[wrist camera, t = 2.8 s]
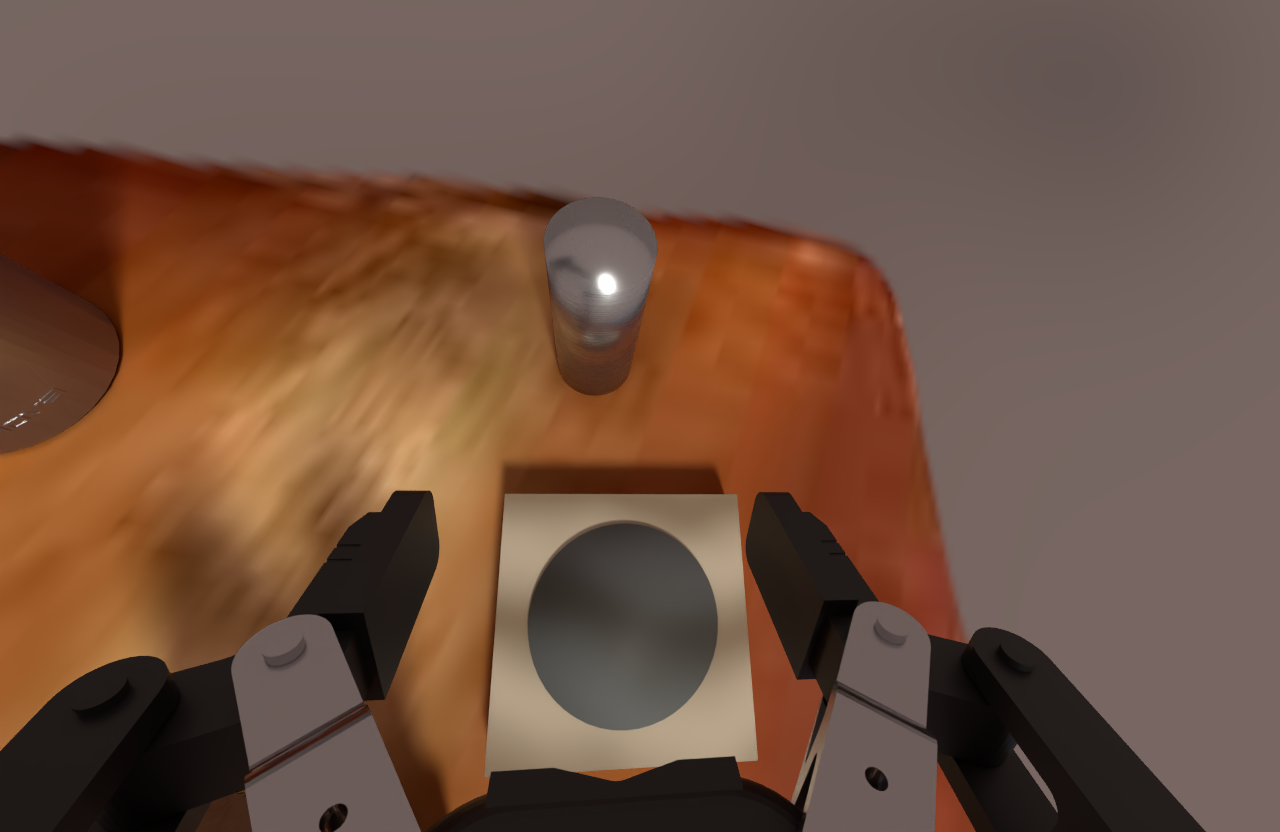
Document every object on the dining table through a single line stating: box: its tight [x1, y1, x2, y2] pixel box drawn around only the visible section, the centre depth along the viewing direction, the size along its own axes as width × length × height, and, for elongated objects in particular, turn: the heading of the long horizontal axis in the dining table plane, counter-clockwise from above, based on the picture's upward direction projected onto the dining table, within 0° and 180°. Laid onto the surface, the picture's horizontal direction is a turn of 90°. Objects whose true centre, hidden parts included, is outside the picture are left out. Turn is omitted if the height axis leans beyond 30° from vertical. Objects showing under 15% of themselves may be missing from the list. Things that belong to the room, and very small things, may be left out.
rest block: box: [484, 494, 758, 778], centre depth 24 cm, size 12×12×2 cm
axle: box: [544, 197, 657, 396], centre depth 24 cm, size 4×4×11 cm
